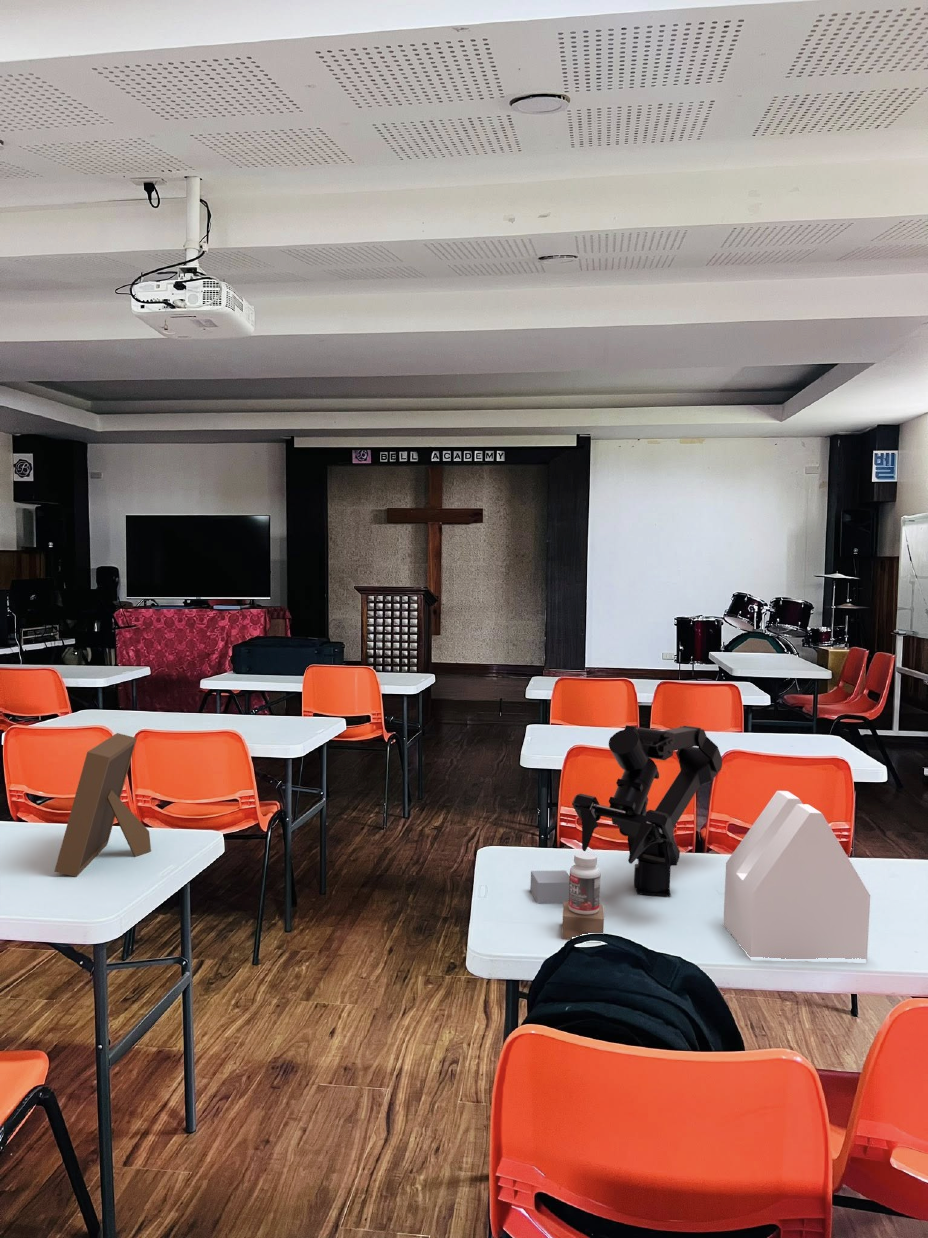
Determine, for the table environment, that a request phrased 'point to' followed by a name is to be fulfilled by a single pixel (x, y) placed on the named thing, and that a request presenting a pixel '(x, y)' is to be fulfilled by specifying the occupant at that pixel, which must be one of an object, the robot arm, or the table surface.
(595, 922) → the walnut block
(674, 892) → the table surface
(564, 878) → the grey block
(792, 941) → the pinkish house shaped block
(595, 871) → the pill bottle
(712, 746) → the robot arm
